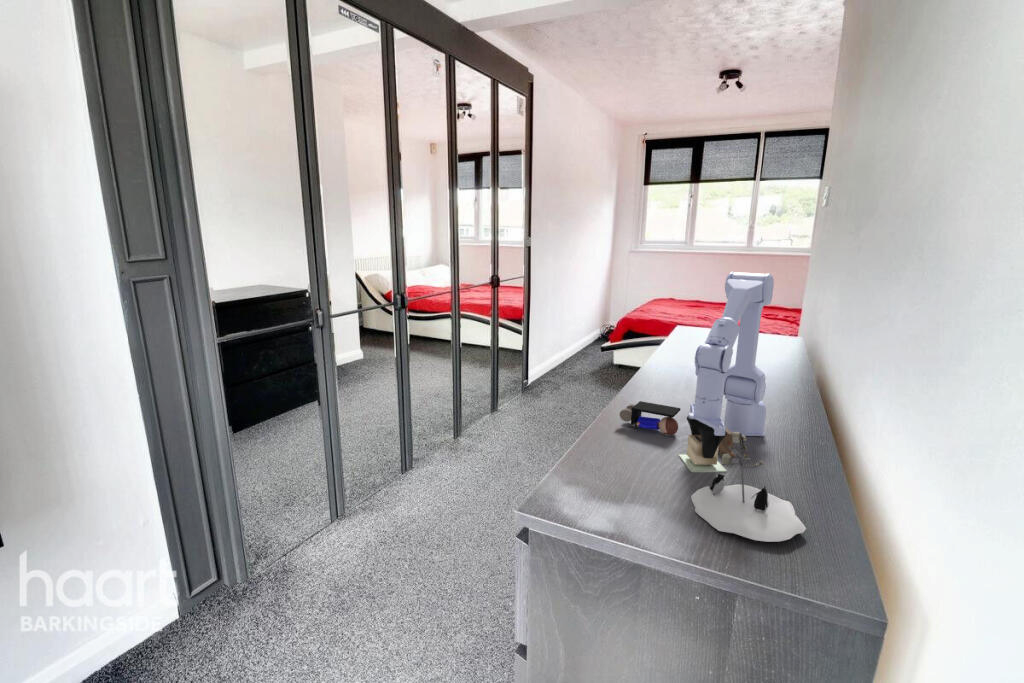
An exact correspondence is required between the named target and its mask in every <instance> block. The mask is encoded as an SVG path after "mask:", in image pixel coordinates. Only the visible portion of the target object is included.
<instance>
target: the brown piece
mask: <svg viewBox="0 0 1024 683" xmlns="http://www.w3.org/2000/svg"><path fill="white" fill-rule="evenodd" d="M725 431H726V432H727V435H726V436H725V437H724V438H723V440H722V441H721V442H720V444H719V448H718V451H720V454H719V455H720V456H721V457H722V456H723V454H729V455H730V456H731V458H736V455H735V454H734V452H732V451H731V450H730V449H728V448H730V445H731V444H732V446H733V445H734V442H733V438H732V432H731V431H730V430H729V429H728V428H726V429H725ZM727 440H728V441H729V443H730V445H729V444H728V441H727ZM733 447H734V446H733Z"/></svg>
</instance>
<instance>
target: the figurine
mask: <svg viewBox="0 0 1024 683" xmlns="http://www.w3.org/2000/svg"><path fill="white" fill-rule="evenodd" d="M732 438H733V444H734V443H735V444H739V445H740V446H739V450H737V449H735V448H734V446H732V444H731V445H730V443H729V441H728V440H727V441H728V444H729V445H730V448H728V449H730V450H731V451H732V452H733V453H734V454H735V457H738V460H739V461H738V462H732V461H734V459H735V458H733V459H732V457H731V456H730V455H729V454H723V456H721V460H722V461H721V465H722V466H723V467H725V466H727V467H728V466H740V471H741V475H740V476H741V484H738V483H736V484H732V485H724V483H725V479H724V477H725V476H726V475H724V474H722V473H721V474H720V473H719V474H717V476H716V477H714V478H713V480H712V483H711V486H704V487H702V488H699V489H697V490H696V491H694V493H692V495H691V496H690V498H691V501H692V504H693V505H694V512H695V513H696V514H698V515H697V516H700V517H701V518H702V519H703V520H704V521H706V522H707V523H708V524H709V525H710V526H711V527H713V528H714V529H716V530H717V531H719V532H724V533H729V534H735V535H738V536H741V537H743V538H746V539H748V540H749V539H750V540H753V541H760V542H768V543H769V542H778V543H779V542H784V541H787V540H790V539H792V538H793V537H795V536H796V535H798V534H803V533H804V532H805V531H806V529H807V527H806V526H805V524H804V523H803V522H802V521H801V519H800V518H799V517H798V516H797V514H796V511H795V508H794V506H793V504H792V503H791V501H788V500H784V499H781V498H779V497H778V496H776V495H773V494H771V493H768V490H767V489H766V486H764V487H762V488H761V489H759V488H757V487H756V486H751V485H747V484H745V482H744V481H745V480H744V468H746V469H748V467H752V469H753V468H755V469H756V468H758V467H760V466H765V462H764V461H763V460H759V462H758V463H752V464H744V461H743V459H744V460H746V461H747V460H751V458H750V457H749V456H748V455H749V454H750V453H749V450H748V448H747V446H746V444H745V443H744V442H746V441H747V436H743V435H742V433H740V432H732ZM744 450H745V451H747V452H745V453H744Z"/></svg>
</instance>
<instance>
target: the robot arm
mask: <svg viewBox="0 0 1024 683" xmlns="http://www.w3.org/2000/svg"><path fill="white" fill-rule="evenodd" d="M774 285H775V281H774V276H773V275H772V274H771V273H757V272H756V273H753V272H735V271H731V272H729V273H728V275H727V276H726V277H725V283H724V292H725V296H726V299H727V301H726V303H725V306H724V309H723V312H722V315H721V318H717V319H715V320H714V322H713V324H712V326H711V329H710V331H709V333H708V336H707V337H706V340H705V341H704V343H703V344H699V345H698V346H697V348H696V352H695V355H694V367H695V373H694V374H695V375H696V384H695V385H696V387H695V396H694V403H690V405H689V413H688V415H687V416H686V420H687V423H688V425H689V428H690V433H691V434H690V435H701V439H702V454H703V457H704V458H713V457H714V455H715V452H716V450H717V448H718V446H719V444H720V442H721V441H722V440H723V438H724V437H725V436H726V435H727V432H726V431H725V429H726V428H728V429H729V430H730V431H731V432H740V433H742V435H743V436H745V437H765V436H766V434H765V433H764V431H765V426H766V425H765V424H766V417H767V408H766V405H765V403H764V402H763V399H764V397H765V394H766V393H765V392H766V388H767V387H766V374H765V372H764V371H762V370H761V369H760V368H759V367H757V366H756V361H757V360H756V359H757V351H758V345H759V336H760V327H761V318H762V312H763V308H764V307H765V306H768V305H771V303H772V300H773V292H774ZM736 341H737V345H736V354H735V364H732V365H731V363H732V358H733V357H732V356H733V354H734V350H733V347H734V345H735V344H736ZM723 399H725V400H726V402H725V404H726V405H725V413H724V421H723V418H722V415H721V414H722V408H723Z"/></svg>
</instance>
